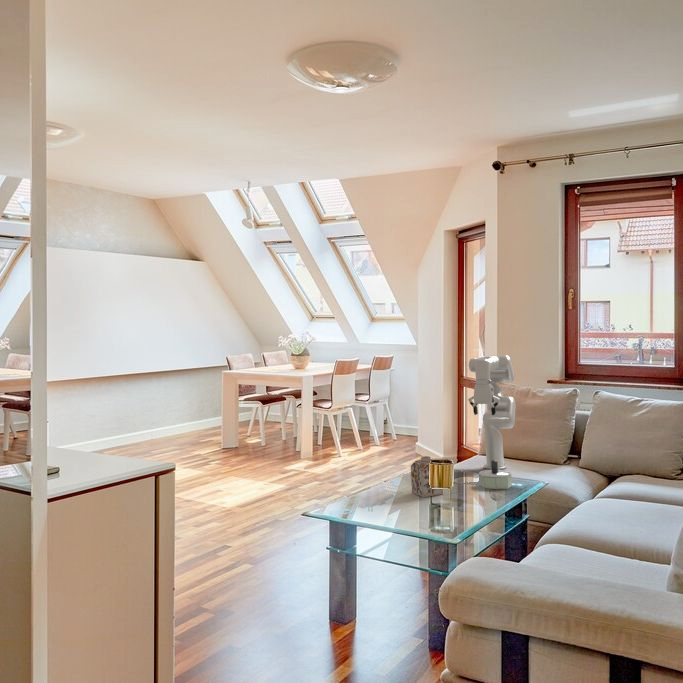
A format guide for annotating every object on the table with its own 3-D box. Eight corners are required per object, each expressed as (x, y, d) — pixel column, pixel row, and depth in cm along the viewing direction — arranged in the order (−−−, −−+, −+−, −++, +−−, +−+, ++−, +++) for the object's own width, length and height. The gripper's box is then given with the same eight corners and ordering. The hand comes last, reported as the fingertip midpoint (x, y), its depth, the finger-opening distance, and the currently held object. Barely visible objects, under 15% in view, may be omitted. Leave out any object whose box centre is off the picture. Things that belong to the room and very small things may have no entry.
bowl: (486, 482, 348) (486, 470, 348) (514, 484, 340) (514, 472, 340) (475, 488, 336) (475, 476, 336) (504, 490, 328) (504, 478, 328)
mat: (459, 476, 364) (459, 475, 364) (489, 479, 355) (489, 477, 355) (446, 483, 350) (446, 482, 350) (477, 486, 340) (477, 484, 340)
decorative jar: (432, 489, 337) (430, 453, 337) (444, 494, 327) (442, 457, 326) (410, 493, 333) (409, 456, 333) (422, 497, 322) (420, 460, 322)
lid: (485, 470, 349) (485, 457, 349) (515, 472, 340) (514, 458, 340) (474, 476, 336) (473, 462, 335) (504, 478, 327) (504, 464, 327)
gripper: (501, 381, 357) (502, 414, 357) (470, 381, 366) (471, 413, 366) (496, 383, 351) (497, 416, 351) (465, 383, 360) (466, 415, 360)
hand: (484, 414), depth 359 cm, fingers open, 9 cm apart
